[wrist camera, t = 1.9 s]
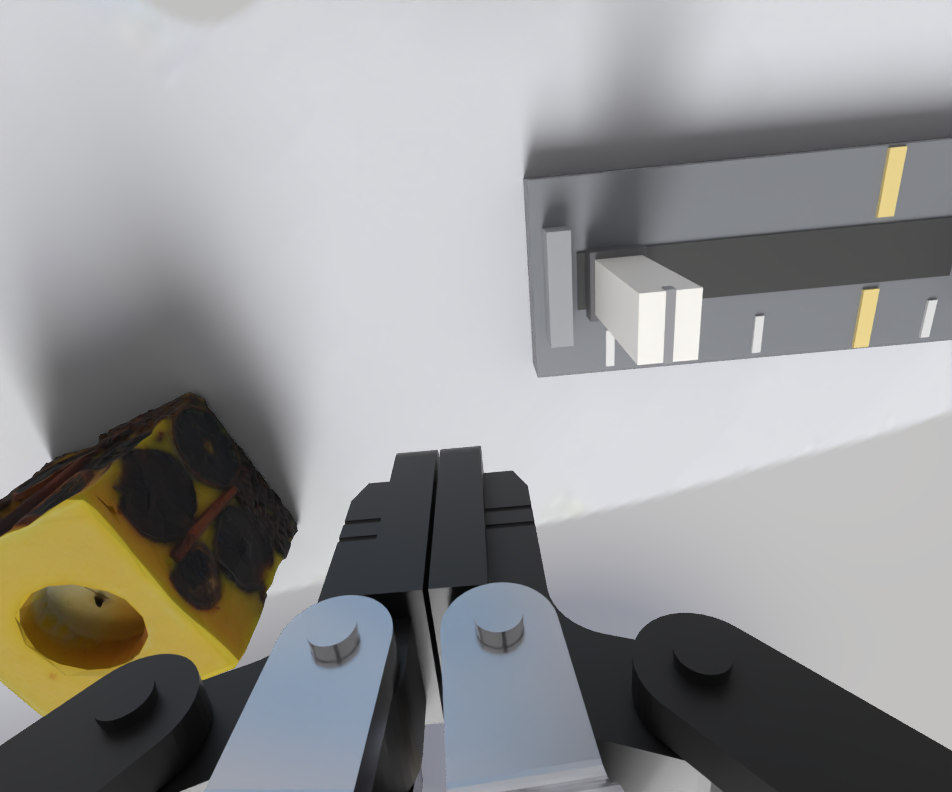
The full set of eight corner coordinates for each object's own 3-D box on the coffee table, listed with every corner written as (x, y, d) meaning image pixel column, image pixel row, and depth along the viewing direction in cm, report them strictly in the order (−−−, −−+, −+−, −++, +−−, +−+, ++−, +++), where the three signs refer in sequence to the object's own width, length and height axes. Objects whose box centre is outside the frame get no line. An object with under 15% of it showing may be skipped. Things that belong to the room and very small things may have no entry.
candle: (48, 459, 31) (-129, 587, 22) (197, 383, 29) (73, 485, 20) (167, 588, 34) (58, 744, 25) (305, 526, 33) (242, 668, 24)
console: (523, 179, 25) (532, 182, 22) (988, 133, 25) (1068, 129, 22) (533, 363, 29) (542, 389, 26) (941, 326, 29) (1003, 348, 25)
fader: (585, 249, 24) (633, 284, 17) (640, 243, 24) (710, 277, 17) (586, 316, 25) (631, 374, 18) (638, 311, 25) (704, 367, 18)
